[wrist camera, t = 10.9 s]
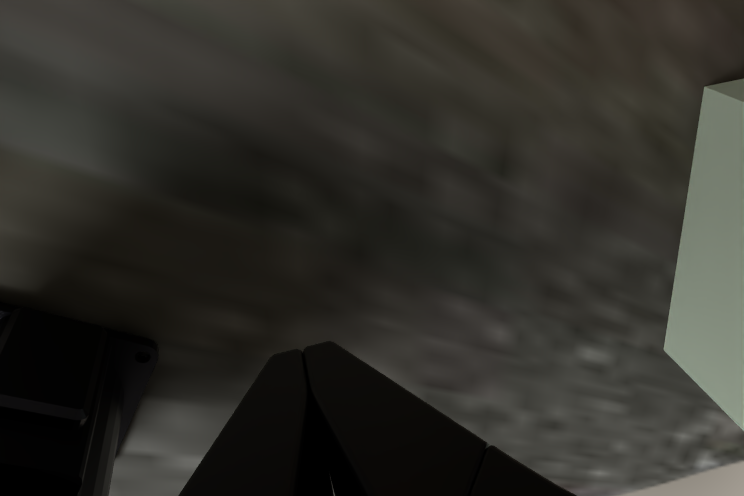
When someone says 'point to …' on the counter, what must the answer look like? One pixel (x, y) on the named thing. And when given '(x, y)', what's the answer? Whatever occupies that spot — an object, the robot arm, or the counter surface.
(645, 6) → the counter surface
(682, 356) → the block
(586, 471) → the counter surface
